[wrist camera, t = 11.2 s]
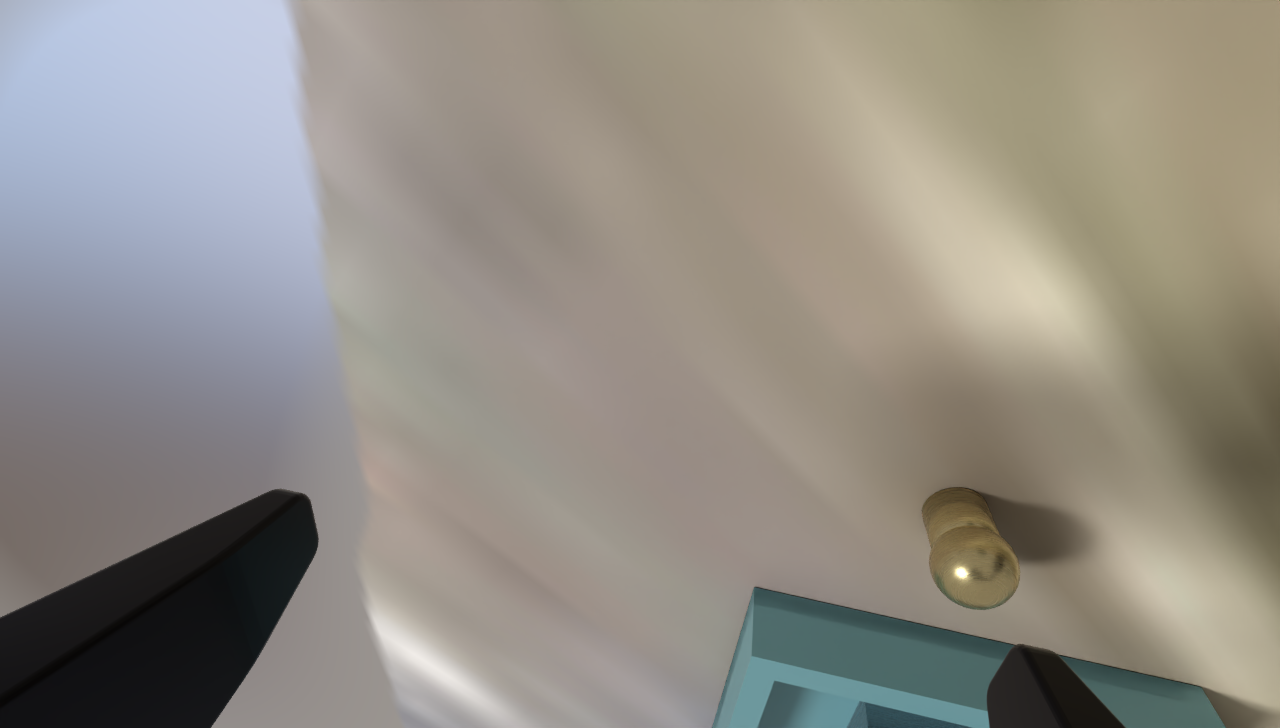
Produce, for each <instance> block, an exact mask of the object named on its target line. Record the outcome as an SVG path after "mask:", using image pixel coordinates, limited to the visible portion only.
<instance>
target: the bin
mask: <svg viewBox="0 0 1280 728" xmlns="http://www.w3.org/2000/svg"><path fill="white" fill-rule="evenodd" d="M1014 646H1015V645H1010V644H1006V643H1001V642H997V641H992V640H988V639H983V638H979V637H975V636H970V635H966V634H961V633H957V632H952V631H948V630H943V629H939V628H934V627H930V626H925V625H921V624H916V623H912V622H908V621H903V620H899V619H894V618H890V617H885V616H881V615H876V614H872V613H867V612H863V611H858V610H854V609H849V608H845V607H841V606H836V605H832V604H827V603H823V602H818V601H814V600H809V599H805V598H800V597H796V596H791V595H787V594H782V593H778V592H774V591H769V590H765V589H760V588H756V587H754V590H753V593H752V596H751V600H750V603H749V606H748V610H747V613H746V616H745V620H744V623H743V626H742V630H741V633H740V636H739V640H738V643H737V646H736V650H735V653H734V656H733V660H732V663H731V666H730V670H729V673H728V676H727V680H726V683H725V686H724V690H723V693H722V696H721V700H720V703H719V706H718V710H717V713H716V716H715V720H714V723H713V727H712V728H847V726H848V724H849V722H850V720H851V718H852V716H853V714H854V712H855V709H856V707H857V705H858V703H859V701H862V702H867V703H871V704H875V705H879V706H883V707H888V708H892V709H896V710H900V711H904V712H909V713H913V714H917V715H921V716H925V717H930V718H934V719H938V720H942V721H946V722H951V723H955V724H959V725H963V726H968V727H972V728H990V727H989V719H988V711H987V690H988V687H989V684H990V682H991V680H992V678H993V677H994V675H995V673H996V672H997V670H998V669H999V667H1000V665H1001V664H1002V662H1003V660H1004V659H1005V657H1006V655H1007V654H1008V652H1009V651H1010V649H1011V648H1012V647H1014ZM1060 657H1061V658H1062V659H1063V660H1064V661H1065V662H1066V663H1067V665H1068V666H1069V667H1070V668H1071V669H1072V670H1073V671H1074V672H1075V673H1076V674H1077V675H1078V676H1079V678H1080V679H1081V680H1082V681H1083V682H1084V683H1085V684H1086V685H1087V686H1088V687H1089V688H1090V689H1091V690H1092V692H1093V693H1094V694H1095V695H1096V696H1097V697H1098V698H1099V699H1100V700H1101V701H1102V702H1103V703H1104V704H1105V706H1106V707H1107V708H1108V709H1109V710H1110V711H1111V712H1112V713H1113V714H1114V715H1115V716H1116V717H1117V718H1118V720H1119V721H1120V722H1121V723H1122V724H1123V725H1124V726H1125V727H1126V728H1226V727H1225V725H1224V724H1223V722H1222V721H1221V719H1220V717H1219V716H1218V714H1217V712H1216V711H1215V709H1214V707H1213V706H1212V704H1211V703H1210V701H1209V699H1208V698H1207V696H1206V694H1205V693H1204V691H1203V689H1202V688H1201V687H1198V686H1193V685H1189V684H1184V683H1180V682H1176V681H1171V680H1167V679H1162V678H1158V677H1153V676H1149V675H1144V674H1140V673H1135V672H1131V671H1126V670H1122V669H1117V668H1113V667H1109V666H1104V665H1100V664H1095V663H1091V662H1086V661H1082V660H1077V659H1073V658H1068V657H1064V656H1060Z"/></svg>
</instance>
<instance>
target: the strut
mask: <svg viewBox="0 0 1280 728" xmlns="http://www.w3.org/2000/svg"><path fill="white" fill-rule="evenodd" d="M847 728H972V727H968V726H963V725H959V724H955V723H951V722H946V721H942V720H938V719H934V718H930V717H925V716H921V715H917V714H913V713H909V712H904V711H900V710H896V709H892V708H888V707H883V706H879V705H875V704H871V703H867V702H862V701H859V703H858V705H857V707H856V709H855V712H854V714H853V716H852V718H851V720H850V722H849V724H848V726H847Z"/></svg>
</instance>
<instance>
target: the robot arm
mask: <svg viewBox="0 0 1280 728" xmlns="http://www.w3.org/2000/svg"><path fill="white" fill-rule="evenodd" d="M317 547H318V533H317V528H316V523H315V519H314V514H313V510H312V505H311V501H310V499H309V498H308V497H307V496H306V495H305V494H303V493H299V492H294V491H290V490H285V489H275V490H272V491H269V492H267V493H264V494H262V495H260V496H258V497H256V498H254V499H252V500H249V501H247V502H245V503H243V504H241V505H239V506H237V507H235V508H233V509H231V510H228V511H226V512H224V513H222V514H220V515H218V516H216V517H213V518H211V519H209V520H207V521H205V522H203V523H201V524H198V525H196V526H194V527H192V528H190V529H188V530H186V531H183V532H181V533H179V534H177V535H175V536H173V537H171V538H169V539H167V540H165V541H162V542H160V543H158V544H156V545H154V546H152V547H149V548H147V549H145V550H143V551H141V552H139V553H137V554H135V555H133V556H130V557H128V558H126V559H124V560H122V561H120V562H118V563H116V564H113V565H111V566H109V567H107V568H105V569H103V570H100V571H98V572H97V573H94V574H92V575H90V576H88V577H85V578H83V579H81V580H79V581H77V582H75V583H73V584H71V585H69V586H66V587H64V588H62V589H60V590H58V591H56V592H54V593H51V594H49V595H47V596H45V597H43V598H41V599H39V600H37V601H35V602H32V603H30V604H28V605H26V606H24V607H22V608H20V609H18V610H15V611H13V612H11V613H9V614H7V615H5V616H2V617H0V728H211V727H212V725H213V724H214V722H215V721H216V719H217V718H218V717H219V715H220V713H221V712H222V711H223V709H224V708H225V706H226V705H227V703H228V702H229V700H230V699H231V698H232V696H233V695H234V693H235V692H236V690H237V689H238V687H239V686H240V684H241V683H242V681H243V680H244V678H245V677H246V675H247V674H248V672H249V671H250V669H251V668H252V666H253V665H254V663H255V662H256V660H257V658H258V657H259V655H260V653H261V651H262V650H263V648H264V646H265V645H266V643H267V641H268V639H269V638H270V636H271V634H272V632H273V630H274V628H275V627H276V625H277V623H278V621H279V619H280V618H281V616H282V614H283V612H284V610H285V609H286V607H287V605H288V603H289V601H290V599H291V598H292V596H293V594H294V592H295V591H296V589H297V587H298V585H299V583H300V581H301V580H302V578H303V576H304V574H305V572H306V571H307V569H308V567H309V565H310V563H311V562H312V560H313V558H314V556H315V554H316V551H317ZM987 711H988V719H989V727H990V728H1126V727H1125V726H1124V725H1123V724H1122V723H1121V722H1120V721H1119V720H1118V718H1117V717H1116V716H1115V715H1114V714H1113V713H1112V712H1111V711H1110V710H1109V709H1108V708H1107V707H1106V706H1105V704H1104V703H1103V702H1102V701H1101V700H1100V699H1099V698H1098V697H1097V696H1096V695H1095V694H1094V693H1093V692H1092V690H1091V689H1090V688H1089V687H1088V686H1087V685H1086V684H1085V683H1084V682H1083V681H1082V680H1081V679H1080V678H1079V676H1078V675H1077V674H1076V673H1075V672H1074V671H1073V670H1072V669H1071V668H1070V667H1069V666H1068V665H1067V663H1066V662H1065V661H1064V660H1063V659H1062V658H1061V657H1060V656H1059V655H1057V654H1056V653H1055V652H1053V651H1050V650H1047V649H1043V648H1038V647H1033V646H1028V645H1024V644H1017V645H1015V646H1014V647H1012V648H1011V649H1010V651H1009V652H1008V654H1007V655H1006V657H1005V659H1004V660H1003V662H1002V664H1001V665H1000V667H999V669H998V670H997V672H996V673H995V675H994V677H993V678H992V680H991V682H990V684H989V687H988V690H987Z"/></svg>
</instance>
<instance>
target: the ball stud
mask: <svg viewBox="0 0 1280 728" xmlns="http://www.w3.org/2000/svg"><path fill="white" fill-rule="evenodd" d="M922 517H923V521H924V524H925V528H926V531H927V535H928V539H929V542H930V546H931V552H930V557H929V566H930V572H931V575H932V578H933V580H934V582H935V584H936V585H937V587H938V588H939V589H940V591H941V592H942V593H943V594H944V595H945V596H946V597H947V598H949V599H950V600H952V601H953V602H955V603H956V604H958V605H961V606H963V607H966V608H970V609H977V610H985V609H991V608H995V607H998V606H1000V605H1002V604H1004V603H1005V602H1006V601H1008V600H1009V599H1010V598H1011V597H1012V596H1013V594H1014V593H1015V591H1016V589H1017V587H1018V584H1019V580H1020V567H1019V562H1018V559H1017V556H1016V554H1015V552H1014V551H1013V549H1012V548H1011V546H1010V545H1009V544H1008V543H1007V542H1006V541H1005V540H1004V539H1003V538H1002V537H1001V536H1000V534H999V532H998V530H997V527H996V525H995V522H994V520H993V517H992V515H991V513H990V510H989V508H988V505H987V503H986V501H985V499H984V498H983V497H982V496H981V495H980V494H978V493H977V492H975V491H972V490H970V489H966V488H948V489H944V490H941V491H938V492H936V493H935V494H933V495H932V496H930V497H929V498H928V499H927V500H926V502H925V503H924V505H923V508H922Z"/></svg>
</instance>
